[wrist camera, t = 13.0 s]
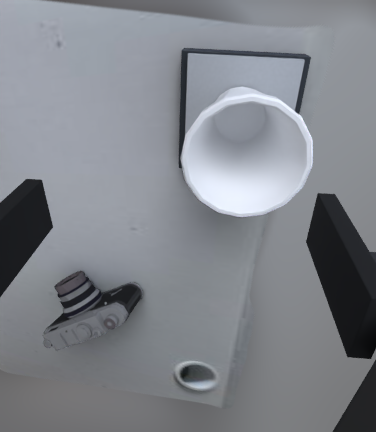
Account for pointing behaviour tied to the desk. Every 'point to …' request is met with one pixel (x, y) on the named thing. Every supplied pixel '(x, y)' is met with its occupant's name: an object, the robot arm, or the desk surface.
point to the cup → (247, 154)
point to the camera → (89, 310)
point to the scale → (237, 79)
